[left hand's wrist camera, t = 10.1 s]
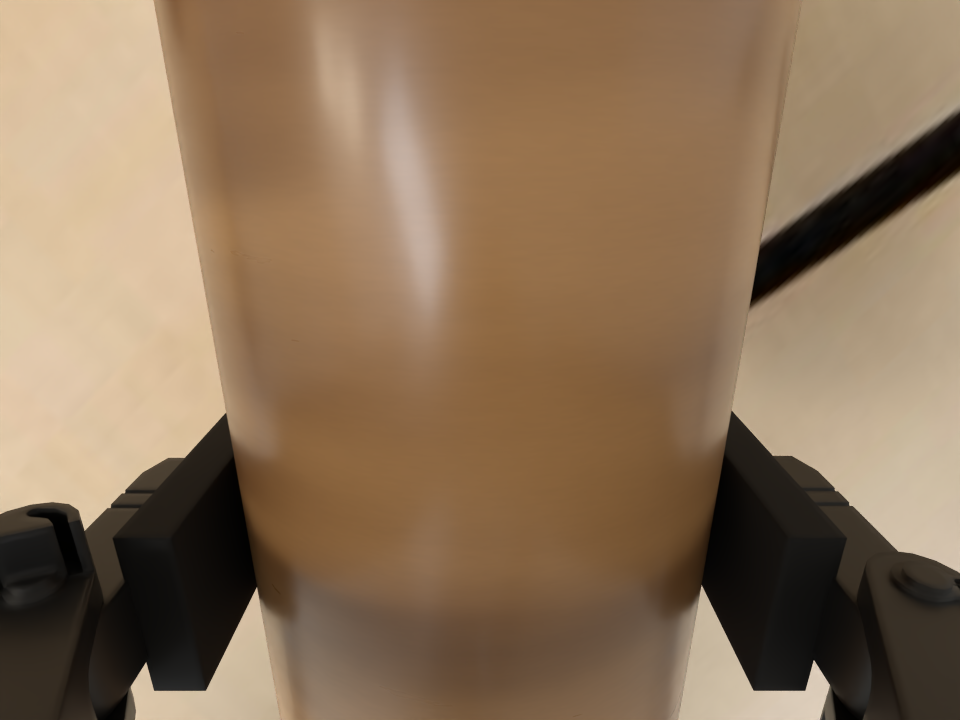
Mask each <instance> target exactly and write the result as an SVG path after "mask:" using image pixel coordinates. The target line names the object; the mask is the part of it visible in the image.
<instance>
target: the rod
mask: <svg viewBox="0 0 960 720" xmlns="http://www.w3.org/2000/svg"><path fill="white" fill-rule="evenodd" d="M801 3H802V0H154V5H155V11H156V17H157V22H158V28H159V34H160V39H161V45H162V51H163V56H164V62H165V68H166V73H167V79H168V85H169V90H170V96H171V102H172V107H173V113H174V119H175V124H176V130H177V136H178V141H179V147H180V153H181V158H182V164H183V170H184V175H185V181H186V187H187V192H188V198H189V204H190V209H191V215H192V221H193V226H194V232H195V238H196V243H197V249H198V255H199V260H200V266H201V272H202V277H203V283H204V289H205V294H206V300H207V306H208V311H209V317H210V323H211V328H212V334H213V340H214V345H215V351H216V357H217V362H218V368H219V374H220V379H221V385H222V391H223V396H224V402H225V408H226V413H227V419H228V425H229V430H230V436H231V442H232V447H233V453H234V459H235V464H236V470H237V476H238V481H239V487H240V493H241V498H242V504H243V510H244V515H245V521H246V527H247V532H248V538H249V544H250V549H251V555H252V561H253V566H254V572H255V578H256V583H257V589H258V595H259V600H260V606H261V612H262V617H263V623H264V629H265V634H266V640H267V646H268V651H269V657H270V663H271V668H272V674H273V680H274V685H275V691H276V697H277V702H278V707H279V712H280V718H281V720H678V716H679V711H680V706H681V700H682V695H683V689H684V683H685V677H686V672H687V666H688V660H689V654H690V648H691V643H692V637H693V631H694V625H695V619H696V613H697V608H698V602H699V596H700V590H701V584H702V579H703V573H704V567H705V561H706V555H707V550H708V544H709V538H710V532H711V526H712V520H713V515H714V509H715V503H716V497H717V491H718V486H719V480H720V474H721V468H722V462H723V456H724V451H725V445H726V439H727V433H728V427H729V422H730V416H731V410H732V404H733V398H734V393H735V387H736V381H737V375H738V369H739V363H740V358H741V352H742V346H743V340H744V334H745V329H746V323H747V317H748V311H749V305H750V300H751V294H752V288H753V282H754V276H755V270H756V265H757V259H758V253H759V247H760V241H761V236H762V230H763V224H764V218H765V212H766V207H767V201H768V195H769V189H770V183H771V177H772V172H773V166H774V160H775V154H776V148H777V143H778V137H779V131H780V125H781V119H782V113H783V108H784V102H785V96H786V90H787V84H788V79H789V73H790V67H791V61H792V55H793V50H794V44H795V38H796V32H797V26H798V20H799V15H800V9H801Z"/></svg>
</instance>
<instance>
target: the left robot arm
mask: <svg viewBox="0 0 960 720" xmlns="http://www.w3.org/2000/svg"><path fill="white" fill-rule="evenodd" d="M834 489H835V488H834V487H833V486H832V485H831V484H830V483H829V482H828V481H827V480H826V479H825V478H824V477H823V476H822V475H821V474H820V473H819V472H818V471H817V470H815V469H813V468H812V467H810V466H808V465H806V464H805V463H803V462H801V461H799V460H798V459H796V458H794V457H792V456H772V455H771V453H770V452H769V451H768V450H767V449H766V448H765V447H764V446H763V445H762V444H761V442H760V441H759V440H758V439H757V438H756V437H755V436H754V435H753V434H752V433H751V431H750V430H749V429H748V428H747V427H746V426H745V425H744V424H743V423H742V422H741V420H740V419H739V418H738V417H737V416H736V415H735V414H734V413H733V412H732V411H731V416H730V422H729V427H728V433H727V439H726V445H725V451H724V456H723V462H722V468H721V474H720V480H719V486H718V491H717V497H716V503H715V509H714V515H713V520H712V526H711V532H710V538H709V544H708V550H707V555H706V561H705V567H704V573H703V579H702V586H703V588H704V590H705V592H706V594H707V597H708V599H709V601H710V603H711V605H712V607H713V609H714V611H715V613H716V615H717V617H718V619H719V621H720V623H721V625H722V627H723V629H724V631H725V633H726V635H727V637H728V639H729V641H730V643H731V645H732V647H733V649H734V652H735V654H736V656H737V658H738V660H739V662H740V664H741V666H742V668H743V670H744V672H745V674H746V676H747V678H748V680H749V682H750V684H751V686H752V688H753V690H754V691H805V690H806V686H807V682H808V679H809V675H810V672H811V668H812V664H813V661H815V662H816V664H817V665H818V667H819V668H820V670H821V672H822V673H823V675H824V676H825V678H826V679H827V681H828V683H829V684H830V687H829V691H828V694H827V697H826V701H825V704H824V708H823V711H822V714H821V718H820V720H960V573H958V572H957V571H955V570H953V569H951V568H949V567H947V566H945V565H943V564H941V563H939V562H937V561H935V560H932V559H928V558H925V557H922V556H919V555H916V554H912V553H904V552H898V551H897V550H896V549H895V548H894V547H893V546H892V545H891V544H890V543H889V542H888V541H887V540H886V539H885V538H884V537H883V536H882V535H881V534H880V533H879V532H878V531H877V530H876V529H875V528H874V527H873V526H872V525H871V524H870V523H869V522H868V521H867V520H866V519H865V518H864V517H863V516H862V515H861V514H860V513H859V512H858V511H857V510H856V509H855V508H854V507H853V506H849V502H848V501H847V500H846V499H845V498H844V497H843V496H842V495H841V494H840V493H839V492H838V491H835V490H834ZM125 491H126V492H125V494H121V495H120V496H119V497H118V498H117V499H116V500H115V501H114V502H113V503H112V504H111V508H107V509H106V510H105V511H104V512H103V513H102V514H101V515H100V516H99V517H98V518H97V519H96V520H95V521H94V522H93V523H92V524H91V525H90V526H89V527H88V528H87V529H86V530H85V531H84V528H83V524H82V521H81V517H80V514H79V511H78V510H77V509H76V508H74V507H72V506H71V505H69V504H62V503H54V502H51V503H42V504H33V505H28V506H25V507H21V508H18V509H14V510H10V511H7V512H5V513H2V514H0V720H135V713H136V709H135V703H134V697H133V694H132V691H131V685H132V684H133V682H134V680H135V679H136V677H137V676H138V674H139V672H140V671H141V669H142V668H143V666H144V664H145V663H146V662H147V666H148V670H149V673H150V677H151V680H152V684H153V688H154V691H206V689H207V687H208V685H209V683H210V681H211V679H212V677H213V675H214V673H215V671H216V669H217V667H218V665H219V663H220V661H221V659H222V657H223V655H224V653H225V651H226V649H227V647H228V645H229V643H230V641H231V638H232V636H233V634H234V632H235V630H236V628H237V626H238V624H239V622H240V620H241V618H242V616H243V614H244V612H245V610H246V608H247V606H248V604H249V602H250V600H251V598H252V596H253V594H254V592H255V590H256V588H257V583H256V578H255V572H254V566H253V561H252V555H251V549H250V544H249V538H248V532H247V527H246V521H245V515H244V510H243V504H242V498H241V493H240V487H239V481H238V476H237V470H236V464H235V459H234V453H233V447H232V442H231V436H230V430H229V425H228V419H227V413H225V414H224V416H223V417H222V418H221V419H220V420H219V421H218V422H217V423H216V424H215V425H214V427H213V428H212V429H211V430H210V431H209V432H208V433H207V434H206V435H205V436H204V438H203V439H202V440H201V441H200V442H199V443H198V444H197V445H196V446H195V447H194V449H193V450H192V451H191V452H190V453H189V454H188V455H187V456H186V457H185V458H167V459H166V460H164V461H162V462H161V463H159V464H157V465H155V466H154V467H152V468H150V469H148V470H147V471H145V472H143V473H142V474H141V475H140V476H139V477H138V478H137V479H136V480H135V481H134V482H133V483H132V484H131V485H130V486H129V487H128V488H127V489H126V490H125Z"/></svg>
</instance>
